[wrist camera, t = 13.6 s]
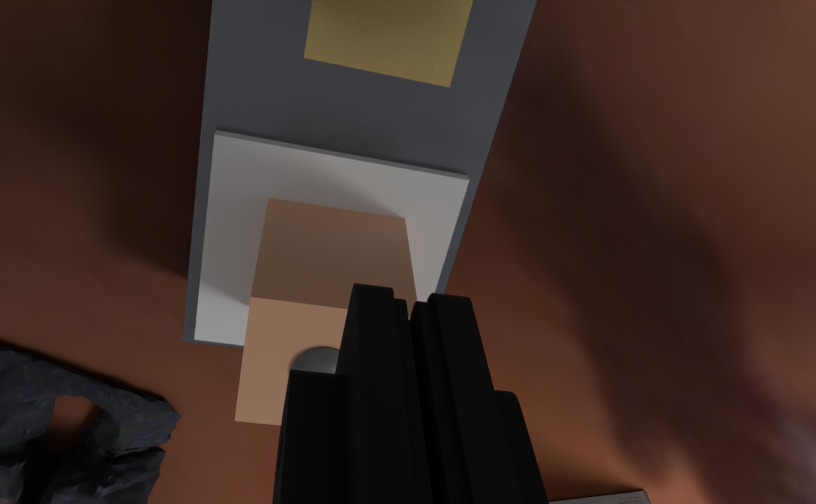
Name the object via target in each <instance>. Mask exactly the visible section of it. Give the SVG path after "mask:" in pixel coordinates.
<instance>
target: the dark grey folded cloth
mask: <svg viewBox="0 0 816 504" xmlns="http://www.w3.org/2000/svg"><path fill="white" fill-rule="evenodd" d="M63 395H68V396H82V397H86V398H88V399H90V400H91V401H93V402H94V403H96V404H97V405H98V406H100V407H101V408H102V411H101V413H100V414H99V415H98V416H97V418H96V421H95V423H94V424H93V426H92V427H90V428H89V429H87V430H85V431H84V432H82V434H81V436H80V439H81V442H82V445H76V446H75V447H74V448H73V449H72V450H71V451H70V453H69V454H68V455H67V456H66V457H65V458H63V459H57V460H55V456H54V455H49V454H48V453H46V452H45V451H44V450H42V449H40V448H38V447H37V439H38V437H39V436H41V435H43V434H44V433H45V432H46V430H47V428H48V426H49V423H50V420H51V418H52V414H53V408H54V403H55V398H56V397H57V396H63ZM179 419H180V415H179V414H178V413H177V412H176V411H175V410H174V409H173V408H172V406H171V405H170V404H169V402H168V401H159V400H158V399H157V398H156V397H154V396H152V395H148V394H145V395H144V396H143V397H142V396H140V395H138V394H136V393H134V392H131V391H128V390H124V389H118V388H116V387H114V386H112V385H110V384H109V383H107V382H104V381H99V380H98V379H96V378H94V377H91V376H88V375H86V374H84V373H81V372H79V371H76V370H74V369H72V368H70V367H68V366H65V365H61V364H57V363H53V362H50V361H46V360H42V359H40V358H38V357H36V356H34V355H31V354H28V353H20V352H16V351H15V350H14V348H12V347H5V346H0V504H147V501H148V496H149V494H150V493H151V490H152V488H153V486H154V484H155V482H156V480H157V479H158V477H159V469H160V464H161V462H162V460H163V459H164V457H165V453H166V452H165V451H163V450H161V449H159V447H158V445H159V444H163V443H166V442H168V440H169V439H170V436H171V435H170V432H171V431H173V430H174V429H175V427H176V424H175V422H177V421H178V420H179ZM150 447H152V450H151V449H149V448H150Z"/></svg>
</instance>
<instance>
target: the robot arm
mask: <svg viewBox="0 0 816 504" xmlns="http://www.w3.org/2000/svg"><path fill="white" fill-rule="evenodd" d="M273 504H549V502H548V498H547V495H546V491H545V488H544V485H543V481H542V478H541V474H540V471H539V468H538V464H537V461H536V458H535V454H534V451H533V447H532V444H531V441H530V437H529V434H528V430H527V427H526V424H525V420H524V417H523V414H522V410H521V407H520V404H519V401H518V399H517V397H516V395H515V394H514V393H512V392H508V391H498V390H494V387H493V383H492V380H491V376H490V372H489V368H488V364H487V360H486V356H485V353H484V349H483V345H482V341H481V337H480V333H479V330H478V326H477V322H476V318H475V314H474V310H473V306H472V303H471V300H470V298H468V297H463V296H455V295H447V294H439V293H431V294H430V295H429V297H428V299H427V302H423V301H416V302H415V303H414V306H413V309H412V312H411V316H410V320H409V316H408V308H407V302H406V300H405V299H398V298H394V292H393V289H392V288H391V287H383V286H375V285H367V284H359V283H354V285H353V288H352V292H351V296H350V301H349V306H348V311H347V316H346V321H345V326H344V330H343V335H342V340H341V345H340V350H339V355H338V360H337V365H336V369H335V374H331V373H321V372H312V371H302V370H292V369H291V370H290V372H289V377H288V383H287V389H286V396H285V402H284V408H283V415H282V422H281V429H280V437H279V445H278V453H277V462H276V472H275V483H274V493H273Z"/></svg>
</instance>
